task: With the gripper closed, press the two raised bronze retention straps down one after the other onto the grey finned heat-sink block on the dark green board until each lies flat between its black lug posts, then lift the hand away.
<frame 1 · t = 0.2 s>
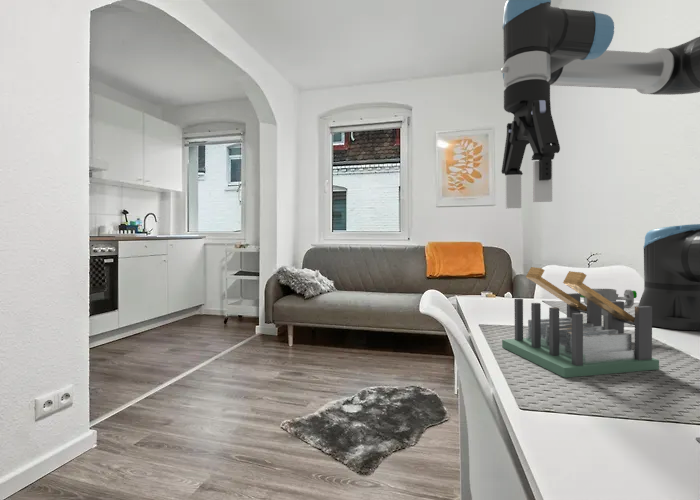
hand: (526, 205, 70), 27 cm above the table, fingers open, 13 cm apart
strap 1: (560, 291, 74), point 11 cm above the table, hinge at 32.0°
mechanical component: (607, 337, 83), on the table
brackets: (604, 354, 70), resting on socket board
strap 2: (603, 298, 64), point 11 cm above the table, hinge at 32.0°
socket board: (572, 357, 69), on the table
heatsink: (575, 357, 69), resting on socket board
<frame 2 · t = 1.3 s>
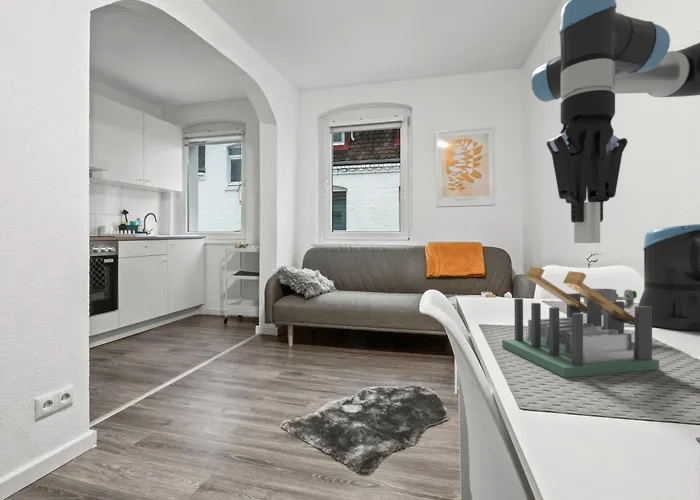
hand: (587, 242, 63), 20 cm above the table, fingers closed
nothing on the table moved.
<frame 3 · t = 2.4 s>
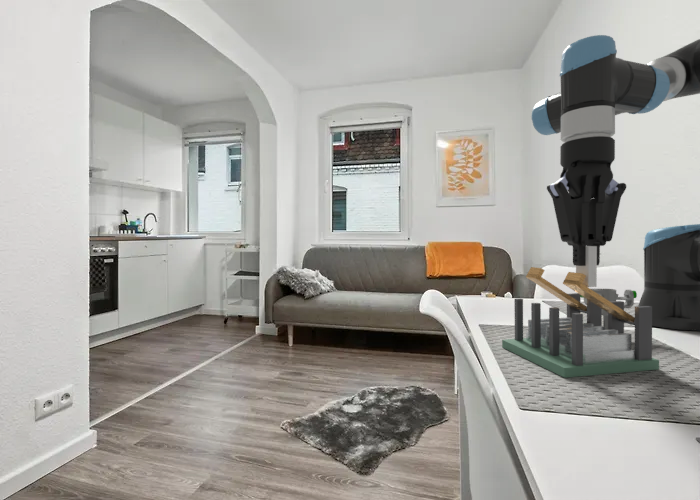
hand: (585, 285, 63), 13 cm above the table, fingers closed
strap 2: (603, 299, 64), point 11 cm above the table, hinge at 31.3°, touching gripper
everything else where it was.
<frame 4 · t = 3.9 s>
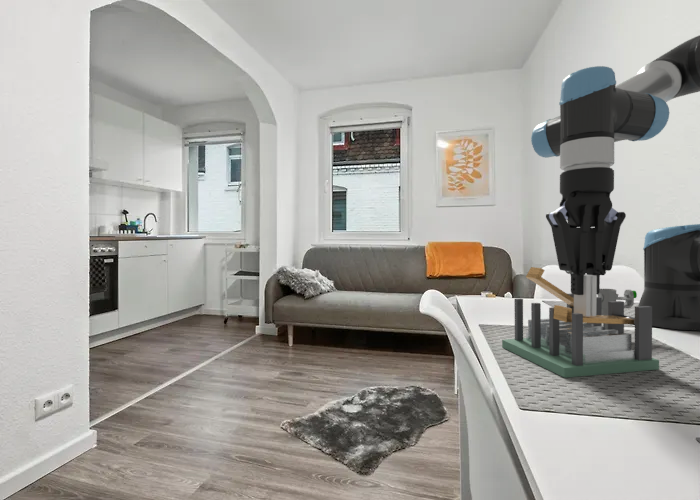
hand: (584, 314, 64), 9 cm above the table, fingers closed, pressing on strap 2
strap 2: (597, 315, 64), point 8 cm above the table, hinge at 4.8°, touching gripper
everything else where it was.
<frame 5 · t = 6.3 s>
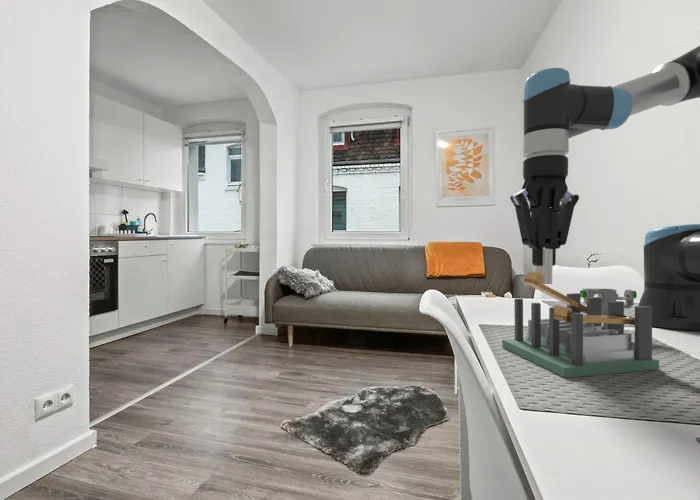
hand: (543, 283, 73), 13 cm above the table, fingers closed
strap 1: (559, 293, 74), point 11 cm above the table, hinge at 27.1°, touching gripper
strap 2: (597, 315, 64), point 8 cm above the table, hinge at 4.8°
everything else where it was.
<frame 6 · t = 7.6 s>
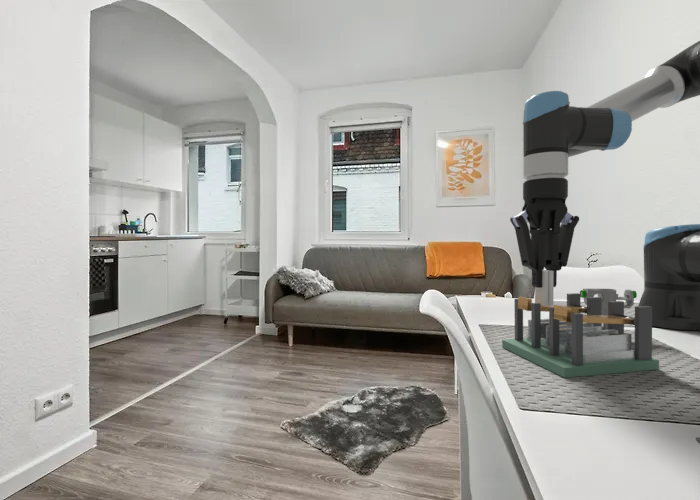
hand: (543, 304, 73), 9 cm above the table, fingers closed, pressing on strap 1
strap 1: (555, 305, 74), point 8 cm above the table, hinge at 4.7°, touching gripper
everything else where it was.
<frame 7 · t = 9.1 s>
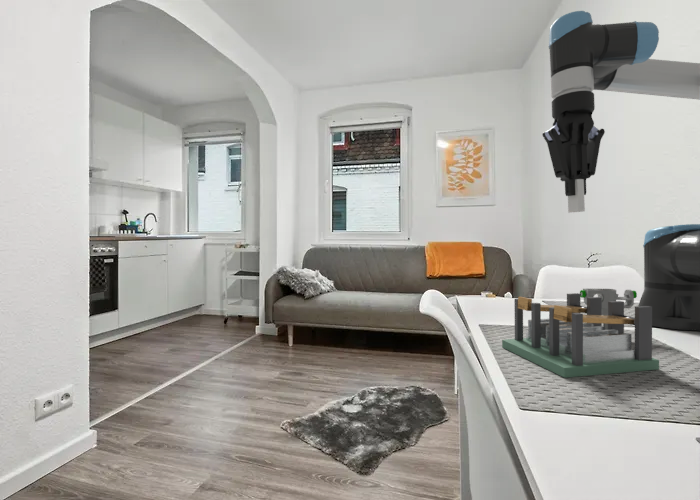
hand: (576, 211, 80), 26 cm above the table, fingers closed
strap 1: (555, 305, 74), point 8 cm above the table, hinge at 4.7°
everything else where it was.
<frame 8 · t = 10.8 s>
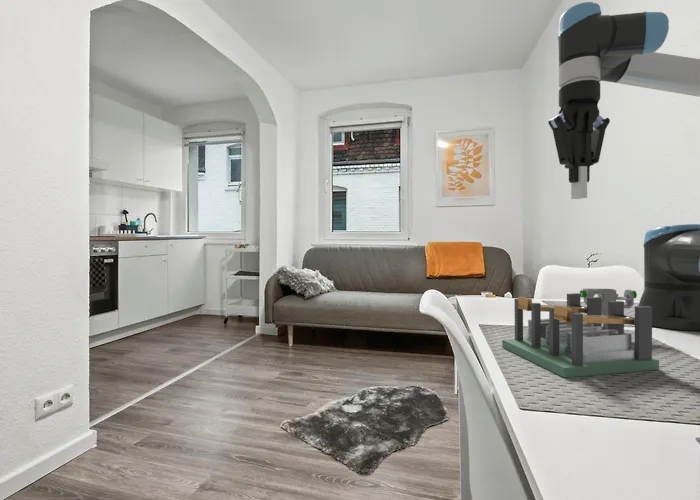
hand: (579, 198, 82), 29 cm above the table, fingers closed
nothing on the table moved.
at the end: strap 2 at +5° (first picture: +32°); strap 1 at +5° (first picture: +32°) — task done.
